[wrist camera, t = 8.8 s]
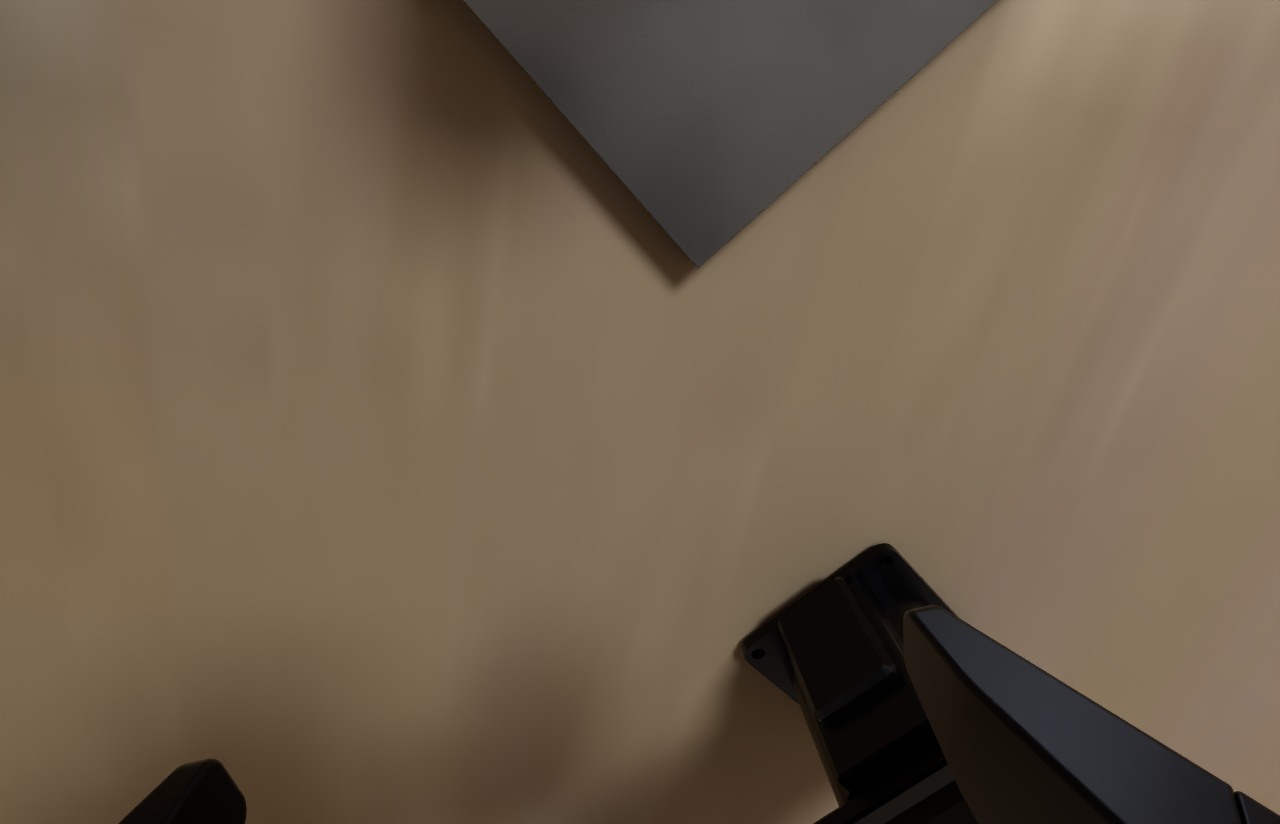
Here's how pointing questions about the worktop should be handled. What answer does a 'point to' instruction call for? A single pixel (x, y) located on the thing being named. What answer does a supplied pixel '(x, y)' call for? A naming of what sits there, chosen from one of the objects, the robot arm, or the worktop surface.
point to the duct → (719, 89)
